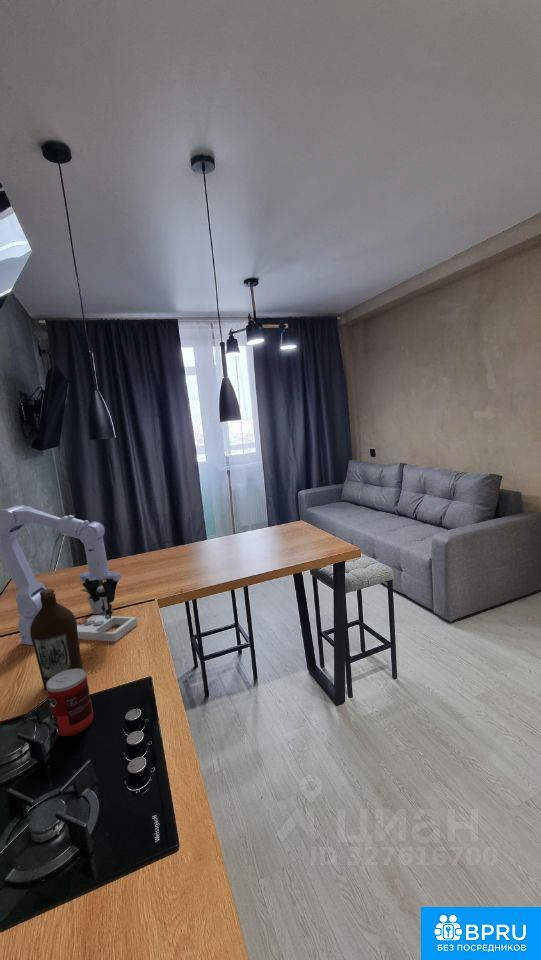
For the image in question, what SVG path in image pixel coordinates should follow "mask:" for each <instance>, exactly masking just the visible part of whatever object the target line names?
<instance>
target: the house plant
mask: <svg viewBox="0 0 541 960" xmlns="http://www.w3.org/2000/svg"><path fill="white" fill-rule="evenodd" d="M115 569H116V567H114V568H110V569H108V570H109V571H112V570H115ZM76 578H78V579H79V580H80V577H79V576H76ZM105 581H106V580H99V587H100V586H102V583H104V582H105ZM81 582H82V583H84V582H85V580H82V581H81ZM83 587H84V586H83ZM80 591H81V592H82V593H87V594H89V592H88V591H87V589H86V588H85V587H84V588H82V589H80ZM87 602H88V603H89V606H90V609H91V611H92V614H93V615H99V614H100V615H101V614H104V613H103V610H102V606H103V602H102V598H100V600H98V601H97V602H93V599H92V597H91V595H90V594H89V595H88V596H87Z"/></svg>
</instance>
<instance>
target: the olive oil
mask: <svg viewBox="0 0 541 960" xmlns="http://www.w3.org/2000/svg"><path fill="white" fill-rule="evenodd" d="M40 596H41V598H40V599H41V603H42V608H41V609H40V611H39V612H38V614H37V615H36V617H35V618H34V620H33V621H32V624H31V628H30V635H31V639H32V643H33V645H32V646H33V649H34V653H35V657H36V661H37V664H38V669H39V672H40V676H41V680H42V685H43V689H44V691H45V692H47V689H46V684H47V682H48V680H49V679H50V678H52V677H53V676H55V675H56V674H58V673H60V672H63V671H66V670H69V669H83V670H84V667H83V662H82V661H83V660H82V654H81V649H80V647H81V646H80V639H78V630H77V625H78V624H77V619H76V616H75V615H74V613H73V611H72V610H71V609H69V608H67V607H65V606H63V605H61V604H60V603H58V602H57V596H56V594H55V590H54V588H46V590H43V591H41V592H40Z"/></svg>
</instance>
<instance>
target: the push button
mask: <svg viewBox="0 0 541 960" xmlns="http://www.w3.org/2000/svg"><path fill="white" fill-rule="evenodd" d="M95 594H96V596H97V597H99V598H102V602H103V606H102V610H103V613H102V616H103V618H104V616H105V619H107V620H109V619H110V618H111V616H113V614H114V611H113V609H112V608H113V606H112V603H108V600H107V596H106V592H105V590H104V588H103V586H100V587H98V588H97V590H96V591H95Z"/></svg>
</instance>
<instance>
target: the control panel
mask: <svg viewBox="0 0 541 960" xmlns="http://www.w3.org/2000/svg"><path fill="white" fill-rule="evenodd" d="M114 626H119V627H117V628H116V629H115V630H114V631H108V630H110V629H111V628H112V627H114ZM136 626H138V616H137V617H136V616H121V615H120V616H118V615H116V616H115V615H111V618H110V619H109V620H107V619H105V615H104V618H103V615H99V614H93V615H91V616H90V617H88V618H86V619H82V620H81V621H79V622H78V624H77V630H78V639H79V640H89V641H92V640H93V641H103V642H104V641H105V642H117V641H119V640H120V639H121V638H122V637H124V636H125V635H126V634H128V633H129V632H130V631H132V630H133V629H134V628H135V627H136Z"/></svg>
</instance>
